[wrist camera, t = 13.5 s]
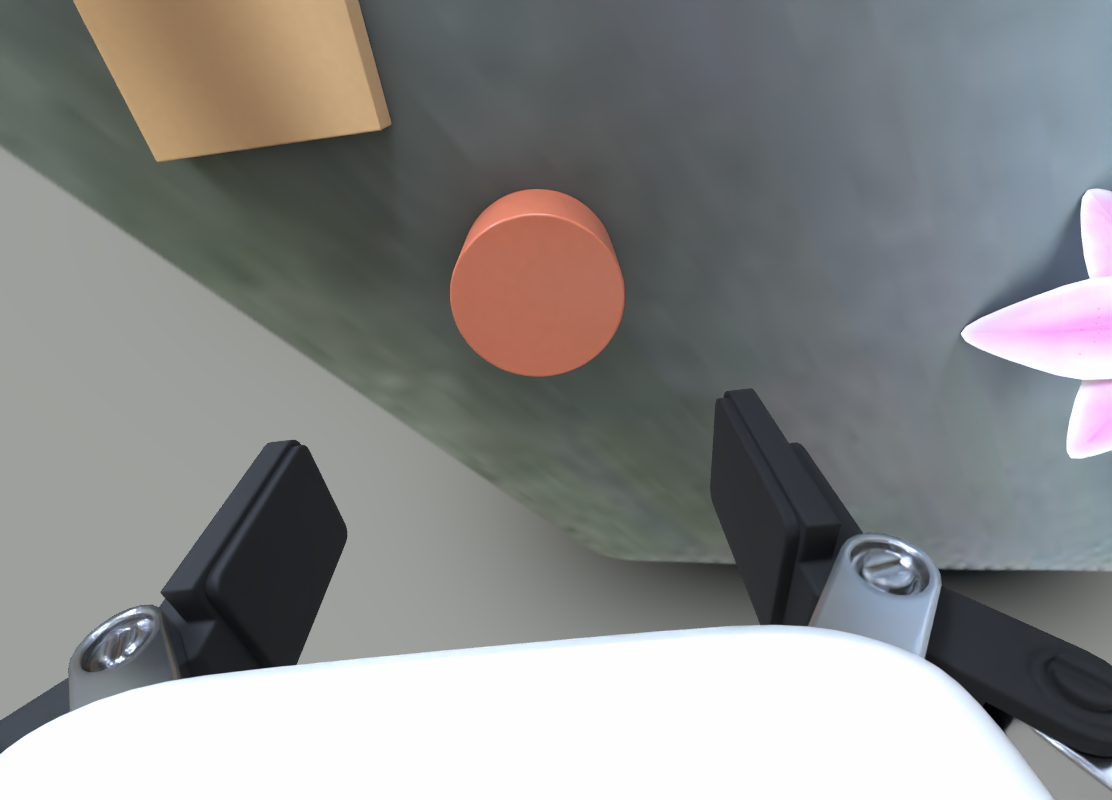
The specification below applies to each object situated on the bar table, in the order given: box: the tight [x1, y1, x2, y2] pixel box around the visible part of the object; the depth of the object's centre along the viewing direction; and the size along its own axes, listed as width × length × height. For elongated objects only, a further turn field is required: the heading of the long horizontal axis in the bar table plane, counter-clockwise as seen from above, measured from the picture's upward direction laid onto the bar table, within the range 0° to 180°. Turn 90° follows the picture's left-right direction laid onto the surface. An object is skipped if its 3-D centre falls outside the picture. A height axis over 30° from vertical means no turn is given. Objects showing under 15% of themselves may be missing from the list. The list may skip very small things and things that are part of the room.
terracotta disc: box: [450, 189, 625, 377], centre depth 20 cm, size 6×6×4 cm
